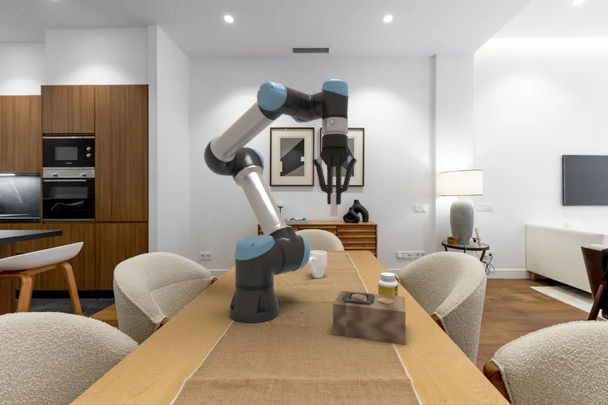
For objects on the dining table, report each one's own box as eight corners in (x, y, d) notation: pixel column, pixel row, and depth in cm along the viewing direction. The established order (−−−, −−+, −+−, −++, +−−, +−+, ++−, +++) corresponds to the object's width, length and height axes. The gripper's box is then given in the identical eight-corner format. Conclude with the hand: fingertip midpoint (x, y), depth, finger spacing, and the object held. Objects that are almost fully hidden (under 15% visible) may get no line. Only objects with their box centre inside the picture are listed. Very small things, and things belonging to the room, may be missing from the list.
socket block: (332, 334, 81) (333, 301, 81) (341, 317, 92) (341, 288, 92) (405, 344, 75) (405, 309, 75) (404, 325, 87) (404, 294, 87)
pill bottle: (398, 311, 97) (398, 276, 97) (378, 310, 98) (378, 275, 98) (396, 305, 103) (397, 272, 103) (377, 303, 104) (378, 271, 104)
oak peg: (350, 327, 83) (350, 297, 83) (352, 321, 87) (352, 293, 87) (365, 329, 82) (365, 299, 82) (366, 323, 86) (367, 294, 86)
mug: (314, 273, 145) (314, 249, 145) (330, 276, 141) (330, 251, 141) (301, 279, 135) (301, 253, 135) (318, 282, 131) (318, 255, 130)
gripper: (309, 133, 88) (309, 216, 89) (355, 131, 85) (354, 217, 85) (316, 138, 96) (315, 214, 96) (358, 136, 92) (358, 215, 92)
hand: (334, 215), depth 90 cm, fingers closed
